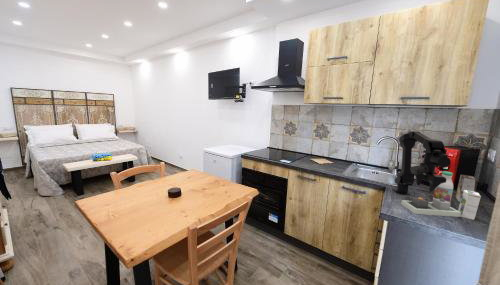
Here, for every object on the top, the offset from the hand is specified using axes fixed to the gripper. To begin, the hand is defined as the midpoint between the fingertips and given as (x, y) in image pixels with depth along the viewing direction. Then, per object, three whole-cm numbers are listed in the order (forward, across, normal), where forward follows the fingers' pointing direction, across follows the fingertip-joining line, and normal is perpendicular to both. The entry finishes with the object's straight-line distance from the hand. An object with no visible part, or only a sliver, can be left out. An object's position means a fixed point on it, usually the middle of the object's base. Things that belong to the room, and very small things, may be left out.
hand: (424, 188), depth 117 cm
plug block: (+10, +6, -5) cm, 13 cm away
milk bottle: (+12, -7, +18) cm, 23 cm away
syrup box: (+12, +10, +16) cm, 22 cm away
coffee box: (+12, -14, +36) cm, 41 cm away
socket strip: (+12, +6, 0) cm, 13 cm away
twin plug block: (+10, +6, +6) cm, 14 cm away
